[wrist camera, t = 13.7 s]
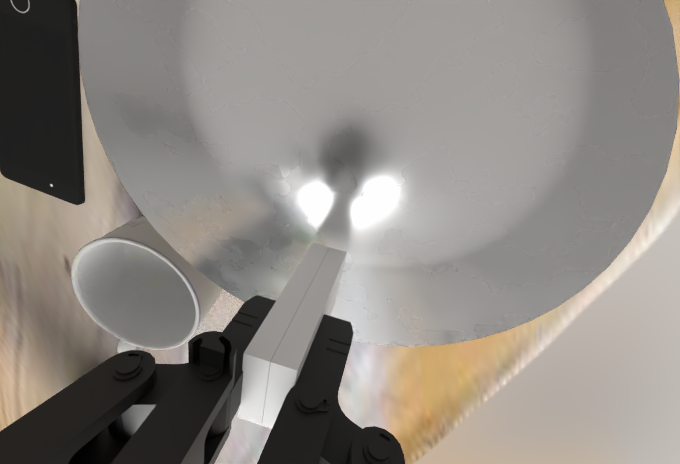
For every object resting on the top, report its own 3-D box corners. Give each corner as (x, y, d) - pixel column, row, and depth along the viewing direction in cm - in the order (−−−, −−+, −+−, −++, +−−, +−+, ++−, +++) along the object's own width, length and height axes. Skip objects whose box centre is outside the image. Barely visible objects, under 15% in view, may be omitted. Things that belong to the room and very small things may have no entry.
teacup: (162, 178, 33) (90, 211, 26) (260, 250, 34) (216, 300, 27) (116, 275, 39) (48, 323, 32) (200, 333, 40) (152, 391, 33)
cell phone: (80, -1, 28) (69, -3, 27) (88, 203, 36) (80, 207, 35) (-21, -37, 28) (-35, -40, 28) (9, 173, 37) (0, 176, 36)
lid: (165, 272, 22) (150, 290, 21) (-129, -587, 6) (-254, -688, 5) (490, 368, 20) (491, 394, 19) (1309, -530, 4) (1598, -678, 3)
